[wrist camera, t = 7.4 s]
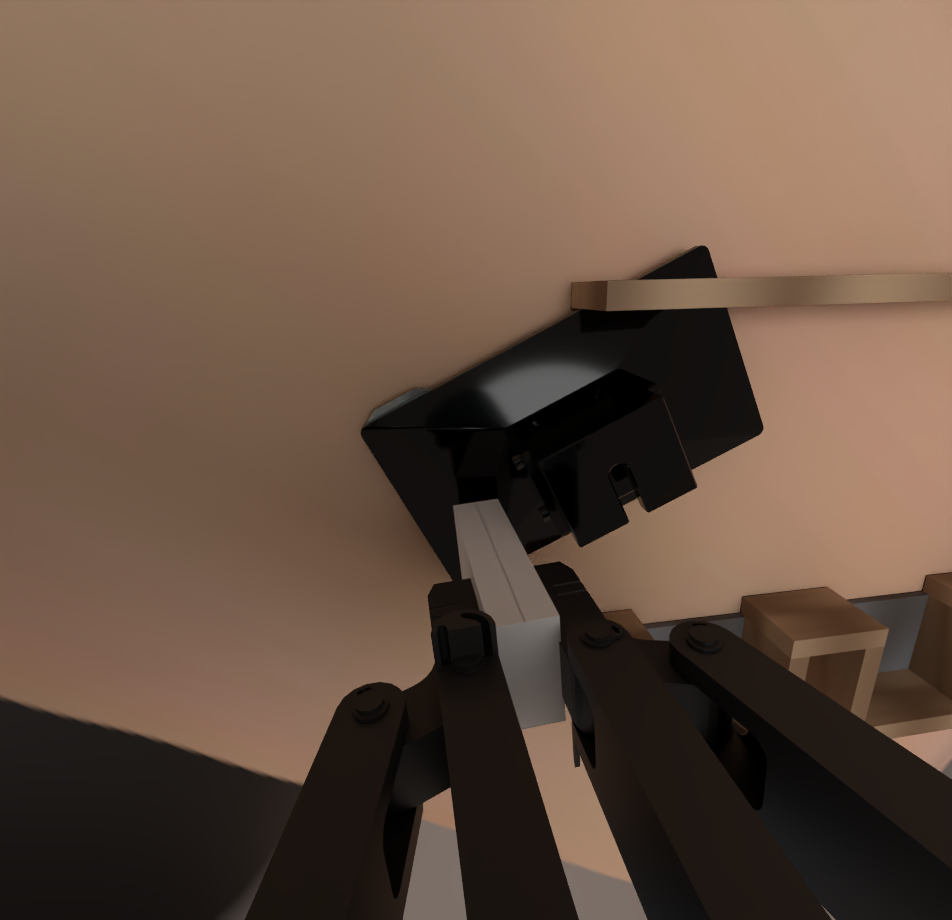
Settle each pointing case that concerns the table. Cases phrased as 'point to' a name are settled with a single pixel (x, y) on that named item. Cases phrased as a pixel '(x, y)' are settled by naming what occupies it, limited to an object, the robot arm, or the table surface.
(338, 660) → the table surface
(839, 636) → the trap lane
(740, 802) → the robot arm
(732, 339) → the black notched block
